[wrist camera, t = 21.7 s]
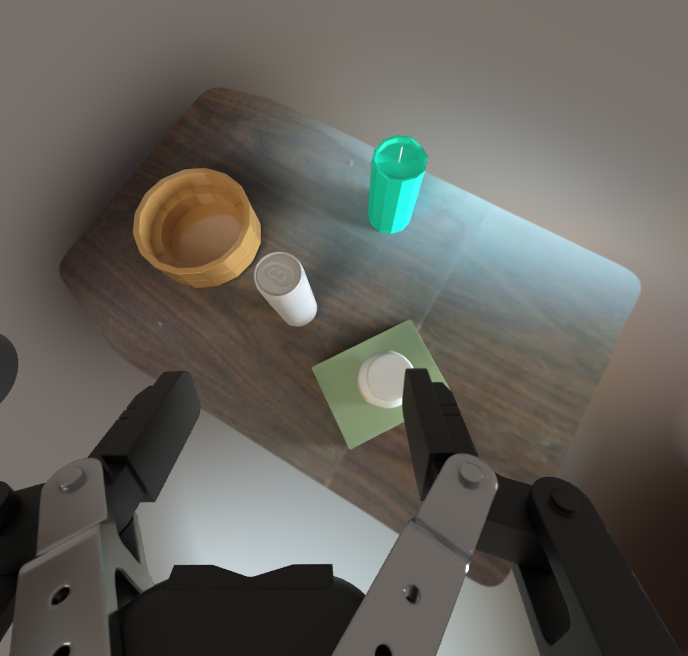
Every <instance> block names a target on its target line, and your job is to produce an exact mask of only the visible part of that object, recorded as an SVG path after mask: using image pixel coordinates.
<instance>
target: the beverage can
mask: <svg viewBox="0 0 688 656" xmlns="http://www.w3.org/2000/svg"><path fill="white" fill-rule="evenodd" d="M254 280H255V284H256V286H257V289H258V290H259V291H260V293H261V294H262V295H263V296H264V298H265V299H266V300H267V301H268V302H269V303H270V305H271V306H272V307H273V308H274V309H275V310H276V311H277V313H278V314H279V315H280V316H281V317H282V318H283V319H284V320H285V321H286V322H287V323H288V324H289V325H292V326H297V327H299V326H304V325H306V324H308V323H309V322H311V321H312V320H313V318H314V317H315V315H316V311H317V304H316V301H315V298H314V296H313V293H312V290H311V288H310V285H309V282H308V280H307V277H306V274H305V272H304V269H303V267H302V265H301V263H300V262H299V261H298V260H297V259H296V258H295V257H294V256H292V255H291V254H289V253H286V252H279V251H278V252H272V253H270V254H267V255H266V256H264V257H263V258H262V259H261V260H260V261H259V262H258V263H257V265H256V268H255V271H254Z"/></svg>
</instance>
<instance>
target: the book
mask: <svg viewBox="0 0 688 656" xmlns="http://www.w3.org/2000/svg"><path fill="white" fill-rule="evenodd" d="M379 351H394V352H397V353H399V354H401V355H403V356H404V357H405V358H406V359H407V360H408V361H409V362H410V363H411V365H412V366H413V368H427V370H428V372H429V375H430V378H431V381H432V382H443V383H444V384H445V385H446V386H447V387H448V385H447V384H446V382H445V380H444V378H443V377H442V375H441V373H440V371H439V369H438V368H437V366H436V364H435V362H434V360H433V359H432V357H431V355H430V353H429V352H428V350H427V348H426V346H425V344H424V343H423V341H422V339H421V337H420V335H419V334H418V332H417V330H416V328H415V327H414V325H413V323H412V321H411V319H409V320H407V321H405V322H403V323H401V324H399V325H397V326H395V327H393V328H391V329H389V330H387V331H385V332H383V333H381V334H378V335H376V336H374V337H372V338H370V339H368V340H366V341H364V342H362V343H360V344H358V345H356V346H354V347H352V348H350V349H348V350H346V351H344V352H342V353H340V354H338V355H336V356H334V357H332V358H329V359H327V360H325V361H323V362H321V363H319V364H317V365H315V366H313V367H312V370H313V372H314V374H315V376H316V378H317V381H318V383H319V385H320V387H321V389H322V391H323V394H324V396H325V398H326V400H327V402H328V404H329V406H330V409H331V411H332V413H333V415H334V417H335V419H336V422H337V424H338V426H339V428H340V430H341V432H342V434H343V437H344V439H345V441H346V443H347V445H348V447H349V449H352V448H354V447H356V446H358V445H360V444H362V443H364V442H366V441H367V440H369V439H371V438H373V437H375V436H377V435H379V434H381V433H383V432H385V431H387V430H389V429H391V428H393V427H395V426H397V425H398V424H400V423H402V422H404V417H403V411H402V405H400V406H398V407H394V408H381V407H378V406H374V405H372V404H370V403H368V402H367V401H365V400H364V399H363V397H362V396H361V394H360V393H359V390H358V386H357V378H358V374H359V371H360V368H361V366H362V364H363V362H364V361H365V360H366V359H367V358H368V357H369V356H371V355H372V354H374V353H376V352H379ZM448 388H449V387H448ZM449 390H450V389H449Z"/></svg>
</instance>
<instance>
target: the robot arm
mask: <svg viewBox="0 0 688 656" xmlns="http://www.w3.org/2000/svg"><path fill="white" fill-rule="evenodd" d="M402 411H403V417H404V422H405V427H406V432H407V437H408V442H409V447H410V452H411V457H412V462H413V467H414V472H415V477H416V482H417V487H418V492H419V497H420V501H423V503H422V505H421V507H420V509H419V510H418V512H417V514H416V516H415V517H414V518H411V519H410V520H409V521H408V522H407V523H406V525H405V527H404V528H403V530H402V532H401V534H400V535H399V537H398V539H397V541H396V542H395V544H394V546H393V548H392V549H391V551H390V553H389V555H388V557H387V558H386V560H385V562H384V564H383V565H382V567H381V569H380V571H379V573H378V574H377V576H376V578H375V580H374V581H373V583H372V585H371V587H370V588H369V590H368V592H367V594H366V595H365V594H364V593H363V592H362V591H361V590H359V589H358V588H357V587H355V586H354V585H352V584H351V583H349V582H347V581H345V580H343V579H341V578H338V577H335V576H333V566H332V564H295V565H294V564H293V565H290V566H287V567H283V568H280V569H277V570H274V571H270V572H267V573H264V574H260V575H257V576H254V577H247V576H244V575H241V574H238V573H235V572H232V571H229V570H226V569H223V568H220V567H218V566H214V565H174V567H173V570H172V572H171V574H170V577H169V579H167V580H165V581H163V582H160V583H158V584H156V585H154V583H153V581H152V579H151V576H150V574H149V571H148V568H147V564H146V558H145V553H144V547H143V542H142V537H141V532H140V526H139V521H138V516H137V514H136V512H135V510H136V509H137V507H138V505H139V503H140V502H155V501H156V499H157V497H158V495H159V493H160V492H161V490H162V488H163V486H164V483H165V482H166V480H167V478H168V476H169V474H170V472H171V470H172V468H173V466H174V464H175V462H176V460H177V458H178V456H179V454H180V453H181V450H182V449H183V447H184V444H185V443H186V441H187V439H188V437H189V435H190V433H191V431H192V429H193V427H194V425H195V423H196V421H197V419H198V417H199V414H200V400H199V397H198V395H197V392H196V389H195V386H194V384H193V381H192V378H191V376H190V374H189V373H188V372H187V371H168V372H164V373H162V375H161V376H160V377H159V379H158V380H157V381H156V382H155V384H154V385H153V386H149V387H147V388H146V389H145V390H143V391H142V392H140V393H139V394H138V395H136V397H135V398H134V399H133V400H132V402H131V403H130V404H129V406H128V407H127V410H124V412H123V413H122V414H121V415H120V417H119V420H116V422H115V423H114V424H113V426H112V427H111V428H110V429H109V431H108V432H107V433H106V434H105V436H104V437H103V438H102V440H101V441H100V442H99V443H98V445H97V446H96V447H95V448H94V450H93V451H92V452H91V453H90V455H89V456H88V457H87V458H84V459H80V460H76V461H74V462H72V463H69V464H68V465H66V466H64V467H62V468H61V469H59V470H58V471H57V472H56V473H54V474H53V475H52V476H51V477H50V478H49V479H48V480H47V482H46V483H43V484H39V485H35V486H32V487H29V488H25V489H21V490H18V491H14V490H13V489H12V488H11V487H10V486H9V485H8V484H6V483H5V482H2V481H0V642H1V640H2V638H3V637H4V635H5V634H6V632H7V630H8V629H9V627H10V626H11V624H12V623H13V627H12V637H11V646H10V655H9V656H436V654H437V652H438V649H439V646H440V643H441V641H442V638H443V635H444V633H445V630H446V627H447V624H448V622H449V619H450V616H451V614H452V611H453V608H454V606H455V603H456V600H457V598H458V595H459V592H460V589H461V586H462V584H463V581H464V578H465V576H466V573H467V570H468V568H469V565H470V562H471V559H472V556H473V553H474V550H475V549H477V550H480V551H482V552H485V553H488V554H491V555H494V556H497V557H499V558H502V559H505V560H508V561H510V564H511V567H512V570H513V573H514V576H515V579H516V582H517V585H518V589H519V592H520V595H521V598H522V601H523V604H524V607H525V610H526V613H527V616H528V619H529V622H530V625H531V628H532V631H533V634H534V637H535V640H536V644H537V647H538V650H539V652H540V656H683V655H682V653H681V651H680V650H679V648H678V647H677V645H676V643H675V641H674V640H673V638H672V636H671V635H670V633H669V631H668V630H667V628H666V626H665V625H664V623H663V622H662V620H661V618H660V616H659V615H658V613H657V611H656V610H655V608H654V606H653V605H652V603H651V601H650V600H649V598H648V596H647V595H646V593H645V591H644V590H643V588H642V586H641V585H640V583H639V581H638V580H637V578H636V576H635V575H634V573H633V571H632V569H631V568H630V567H629V564H628V563H627V561H626V560H625V558H624V556H623V554H622V553H621V551H620V549H619V548H618V546H617V545H616V543H615V541H614V539H613V538H612V536H611V534H610V533H609V531H608V529H607V528H606V526H605V524H604V523H603V521H602V519H601V518H600V516H599V514H598V513H597V511H596V509H595V508H594V506H593V504H592V503H591V502H590V500H589V499H588V497H587V496H586V495H585V494H584V493H583V492H582V491H581V490H579V489H578V488H577V487H575V486H574V485H572V484H570V483H569V482H566V481H564V480H562V479H559V478H555V477H543V478H540V479H538V480H537V481H536V482H535V483H534V484H533V485H529V484H526V483H522V482H519V481H515V480H512V479H508V478H505V477H503V476H500V475H498V474H497V473H495V472H494V471H493V470H492V469H491V467H490V466H489V465H488V464H487V463H486V462H484V461H483V460H482V459H480V458H479V456H478V454H477V452H476V450H475V447H474V445H473V442H472V440H471V437H470V435H469V433H468V430H467V428H466V425H465V423H464V420H463V418H462V416H461V413H460V410H459V408H458V406H457V403H456V401H455V398H454V396H453V393H452V392H451V391H450V390H449V388H448V387H447V386H446V385H445V384H444V383H443V382H432V381H431V378H430V375H429V372H428V370H427V368H406V370H405V376H404V386H403V396H402Z"/></svg>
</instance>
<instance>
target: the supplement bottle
mask: <svg viewBox="0 0 688 656" xmlns="http://www.w3.org/2000/svg"><path fill="white" fill-rule="evenodd" d="M406 368H413V366H412V365H411V363H410V362H409V361H408V360H407V359H406V358H405V357H404V356H403V355H401V354H399V353H397V352H394V351H379V352H376V353H374V354H372V355H371V356H369V357H368V358H367V359H366V360H365V361H364V362H363V364H362V366H361V368H360V371H359V374H358V378H357V386H358V390H359V393H360V394H361V396H362V397H363V399H364V400H365V401H367V402H368V403H370V404H372V405H374V406H378V407H381V408H394V407H398V406H400V405H402V396H403V386H404V376H405V370H406Z"/></svg>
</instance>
